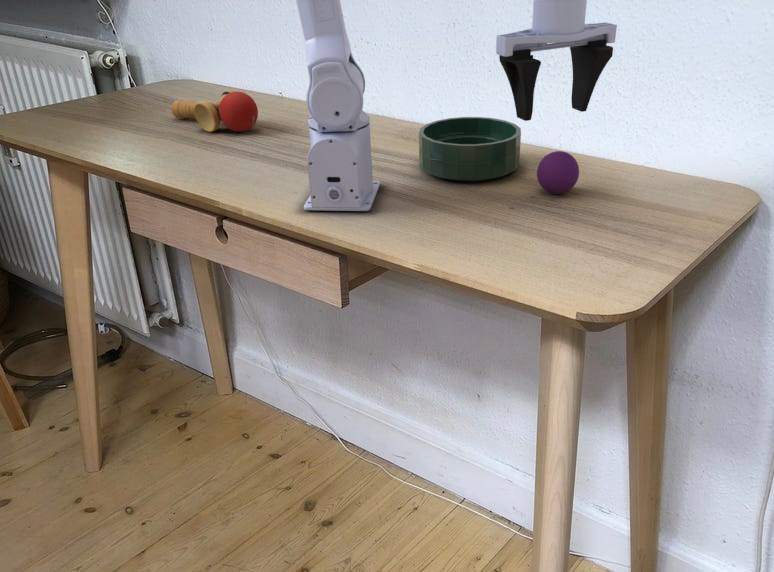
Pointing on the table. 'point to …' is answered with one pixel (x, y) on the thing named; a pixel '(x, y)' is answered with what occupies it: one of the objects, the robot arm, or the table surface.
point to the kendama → (220, 111)
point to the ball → (558, 172)
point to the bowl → (469, 148)
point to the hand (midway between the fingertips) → (551, 114)
